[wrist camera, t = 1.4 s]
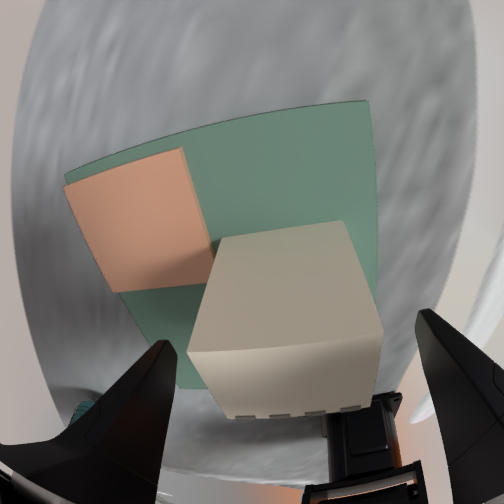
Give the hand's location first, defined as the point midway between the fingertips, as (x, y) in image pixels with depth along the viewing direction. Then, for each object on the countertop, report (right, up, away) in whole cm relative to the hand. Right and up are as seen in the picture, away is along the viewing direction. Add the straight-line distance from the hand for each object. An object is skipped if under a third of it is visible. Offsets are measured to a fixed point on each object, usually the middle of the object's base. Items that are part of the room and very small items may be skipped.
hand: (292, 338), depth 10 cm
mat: (-2, +1, +5) cm, 5 cm away
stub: (0, +2, +3) cm, 4 cm away
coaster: (-6, +4, +3) cm, 8 cm away
